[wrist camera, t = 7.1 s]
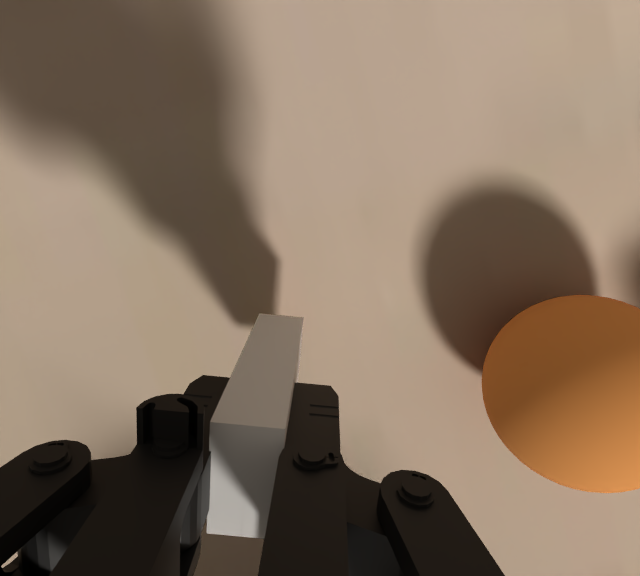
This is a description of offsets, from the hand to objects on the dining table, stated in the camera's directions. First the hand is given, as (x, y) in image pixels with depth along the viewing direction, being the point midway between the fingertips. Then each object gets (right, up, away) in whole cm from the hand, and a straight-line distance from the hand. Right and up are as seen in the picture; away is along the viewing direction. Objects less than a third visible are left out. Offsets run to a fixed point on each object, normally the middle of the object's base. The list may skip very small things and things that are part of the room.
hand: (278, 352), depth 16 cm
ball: (+10, -1, -1) cm, 10 cm away
